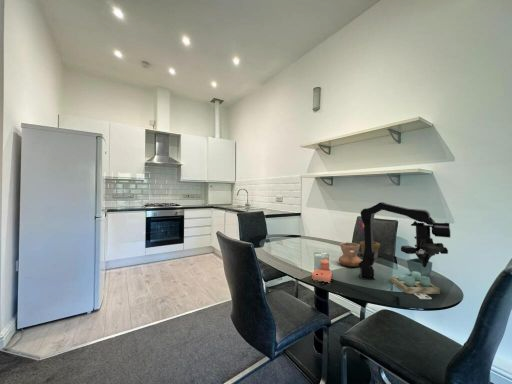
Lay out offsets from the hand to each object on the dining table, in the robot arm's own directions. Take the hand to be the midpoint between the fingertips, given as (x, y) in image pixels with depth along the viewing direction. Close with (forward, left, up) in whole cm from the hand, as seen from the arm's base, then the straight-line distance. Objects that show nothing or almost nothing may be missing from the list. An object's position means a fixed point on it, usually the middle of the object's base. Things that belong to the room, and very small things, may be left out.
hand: (424, 267), depth 109 cm
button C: (0, +7, -9) cm, 11 cm away
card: (-6, -7, -11) cm, 14 cm away
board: (-4, +3, -11) cm, 12 cm away
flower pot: (+8, +18, -12) cm, 23 cm away
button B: (-7, 0, -9) cm, 11 cm away
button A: (-7, +7, -11) cm, 15 cm away
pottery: (-46, +16, -12) cm, 50 cm away
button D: (0, 0, -9) cm, 9 cm away
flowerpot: (-3, +59, -12) cm, 61 cm away
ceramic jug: (-24, +39, -12) cm, 47 cm away
